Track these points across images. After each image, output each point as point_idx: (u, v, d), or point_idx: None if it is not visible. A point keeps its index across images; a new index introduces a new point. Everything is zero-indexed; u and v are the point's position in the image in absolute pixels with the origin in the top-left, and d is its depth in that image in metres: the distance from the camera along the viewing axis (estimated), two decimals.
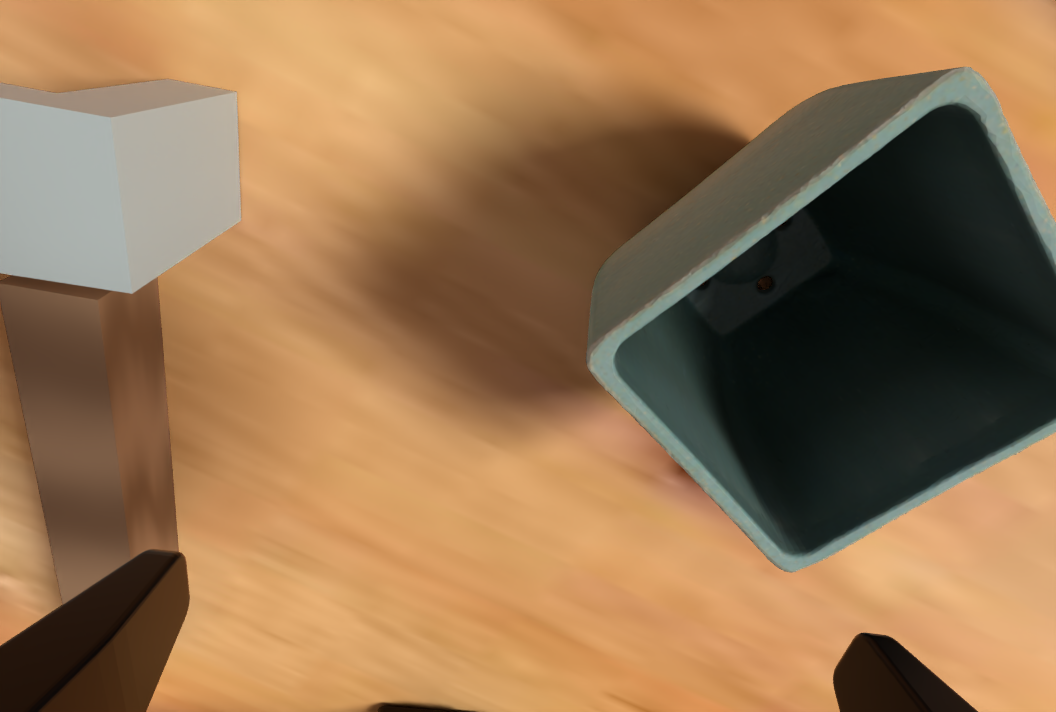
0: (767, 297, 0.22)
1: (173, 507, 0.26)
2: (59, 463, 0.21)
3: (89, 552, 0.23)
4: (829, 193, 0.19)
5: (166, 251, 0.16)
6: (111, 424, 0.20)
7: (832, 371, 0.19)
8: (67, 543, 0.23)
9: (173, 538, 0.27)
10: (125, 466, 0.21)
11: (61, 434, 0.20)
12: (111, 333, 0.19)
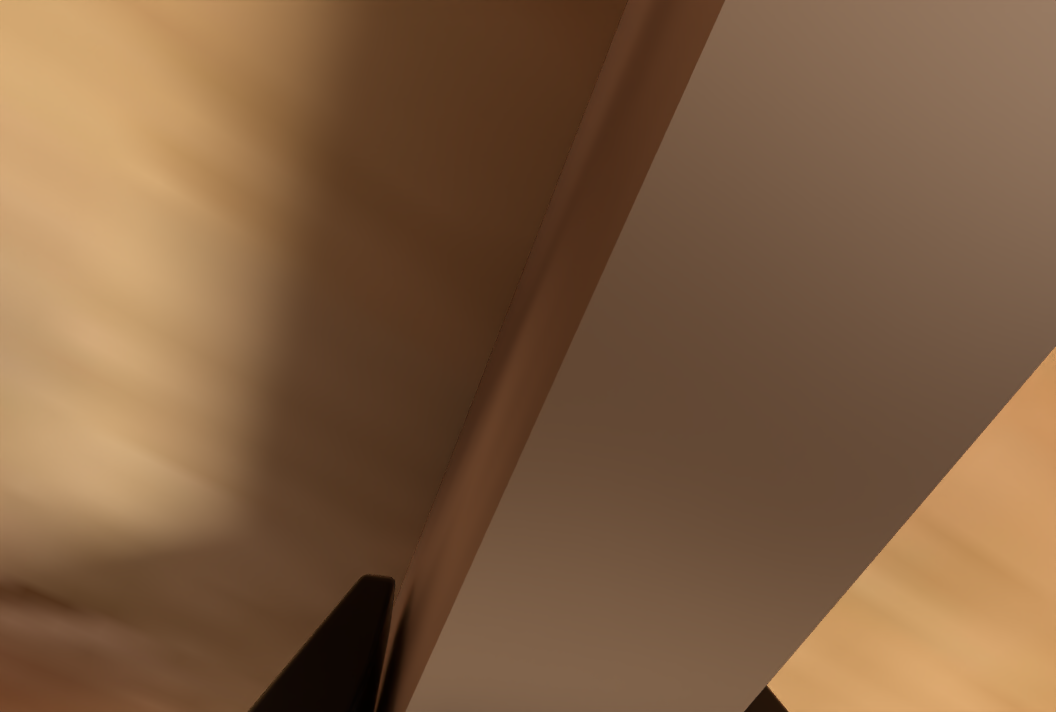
0: None
1: None
2: None
3: (661, 574, 0.05)
4: None
5: None
6: None
7: None
8: (582, 520, 0.04)
9: None
10: None
11: None
12: None
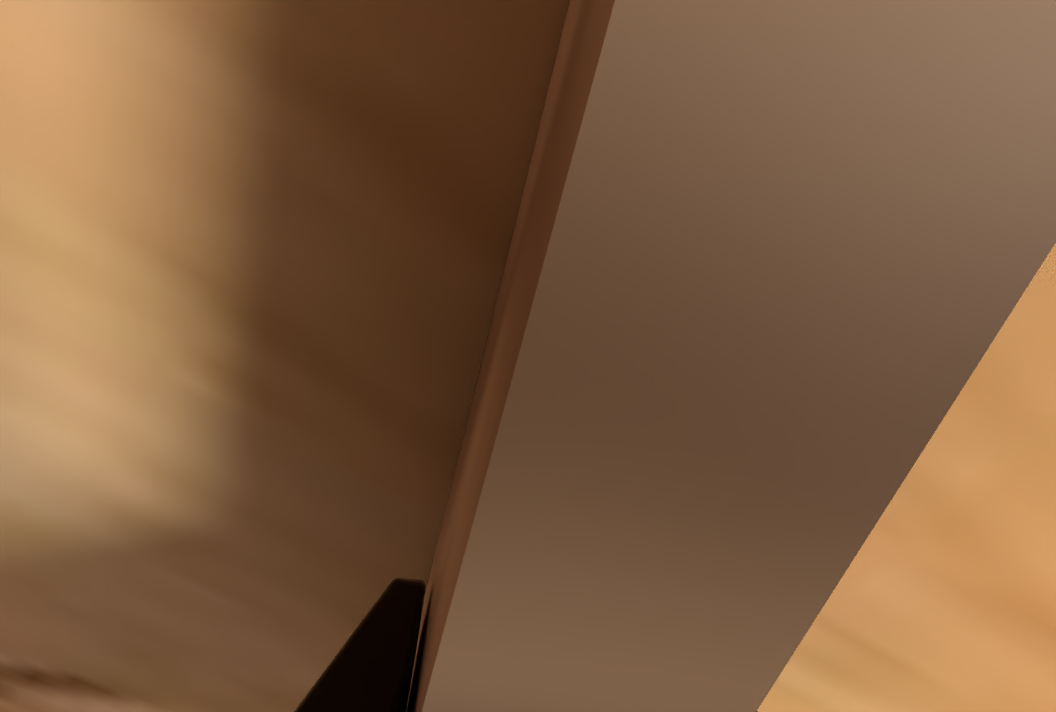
0: None
1: None
2: None
3: (648, 571, 0.05)
4: None
5: None
6: None
7: None
8: (561, 525, 0.04)
9: None
10: None
11: None
12: None
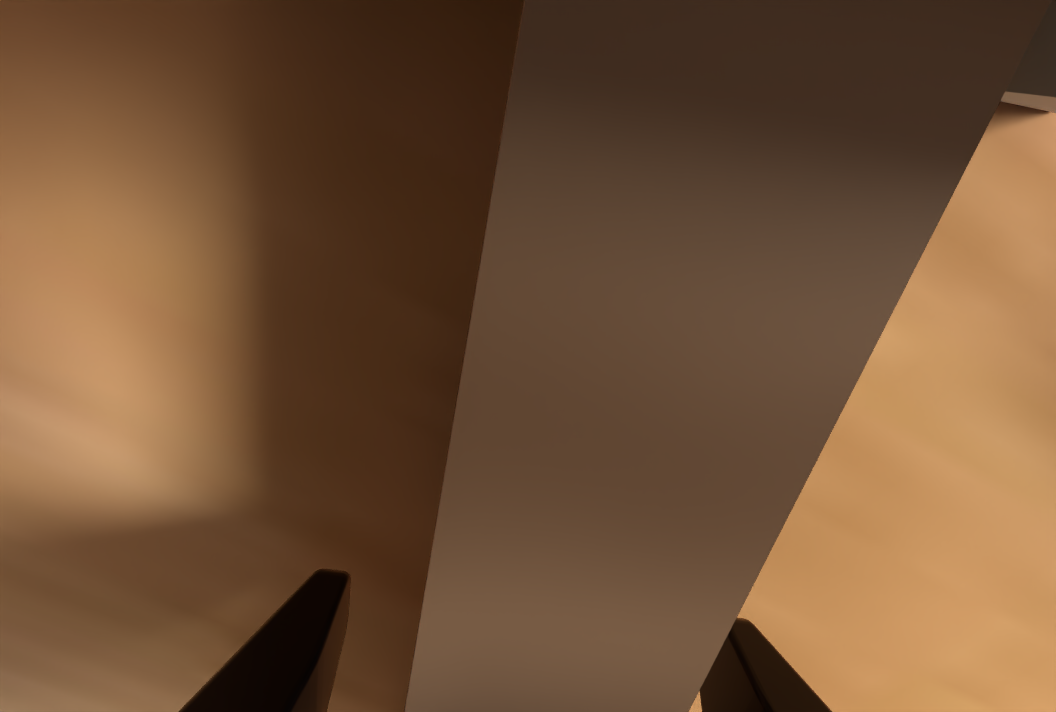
0: None
1: None
2: (664, 69, 0.03)
3: (585, 584, 0.05)
4: None
5: None
6: None
7: None
8: (507, 547, 0.05)
9: None
10: (945, 132, 0.04)
11: None
12: None
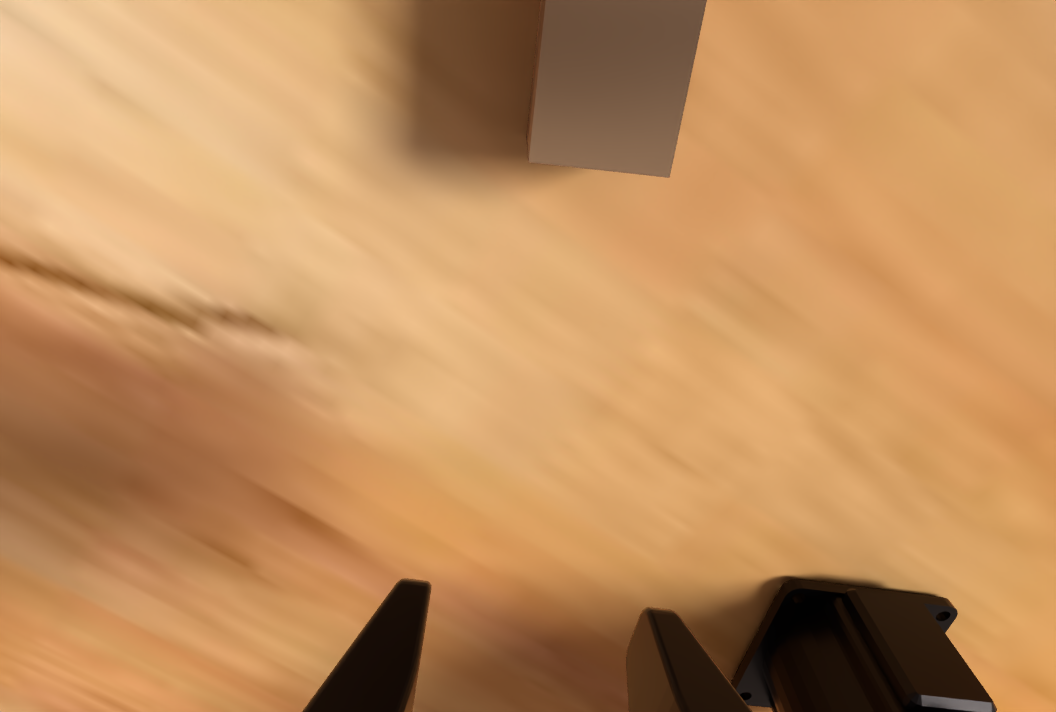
0: None
1: None
2: None
3: None
4: None
5: None
6: None
7: None
8: None
9: None
10: None
11: None
12: None
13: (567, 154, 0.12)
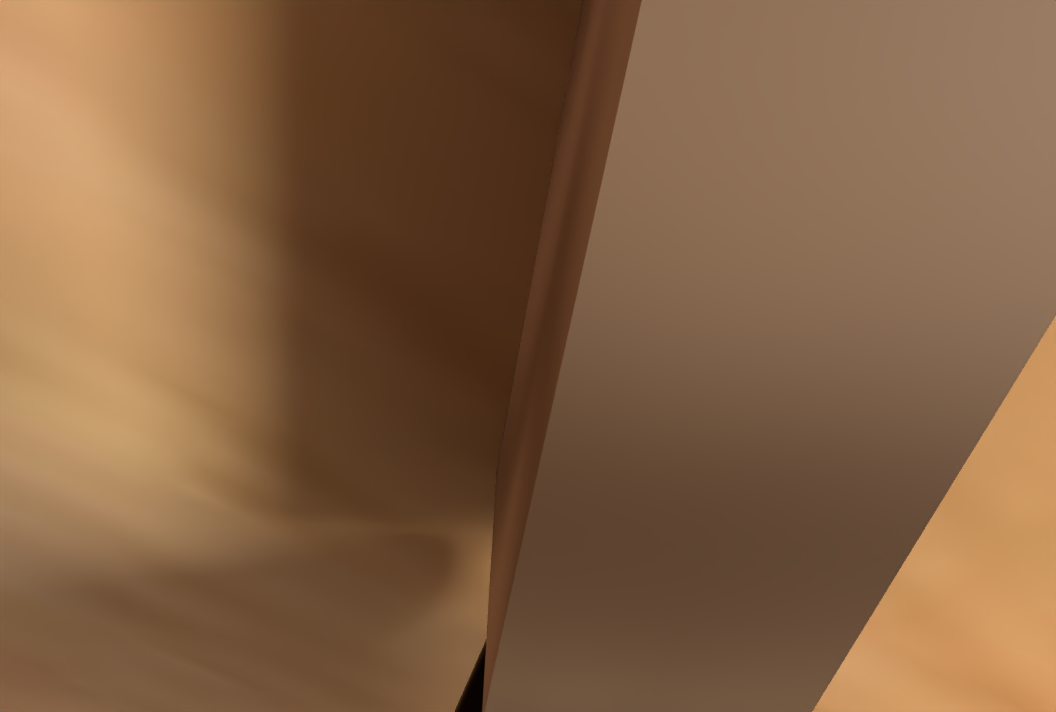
0: None
1: None
2: None
3: None
4: None
5: None
6: None
7: None
8: None
9: None
10: None
11: None
12: None
13: None
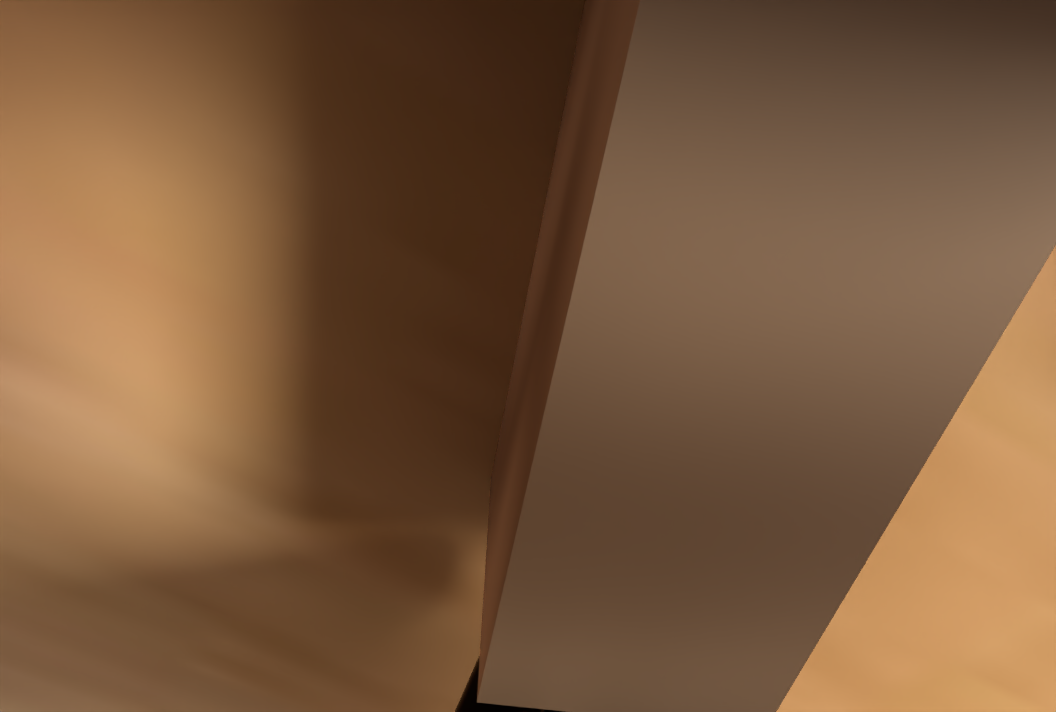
0: None
1: None
2: None
3: None
4: None
5: None
6: None
7: None
8: None
9: None
10: None
11: None
12: None
13: (559, 696, 0.06)
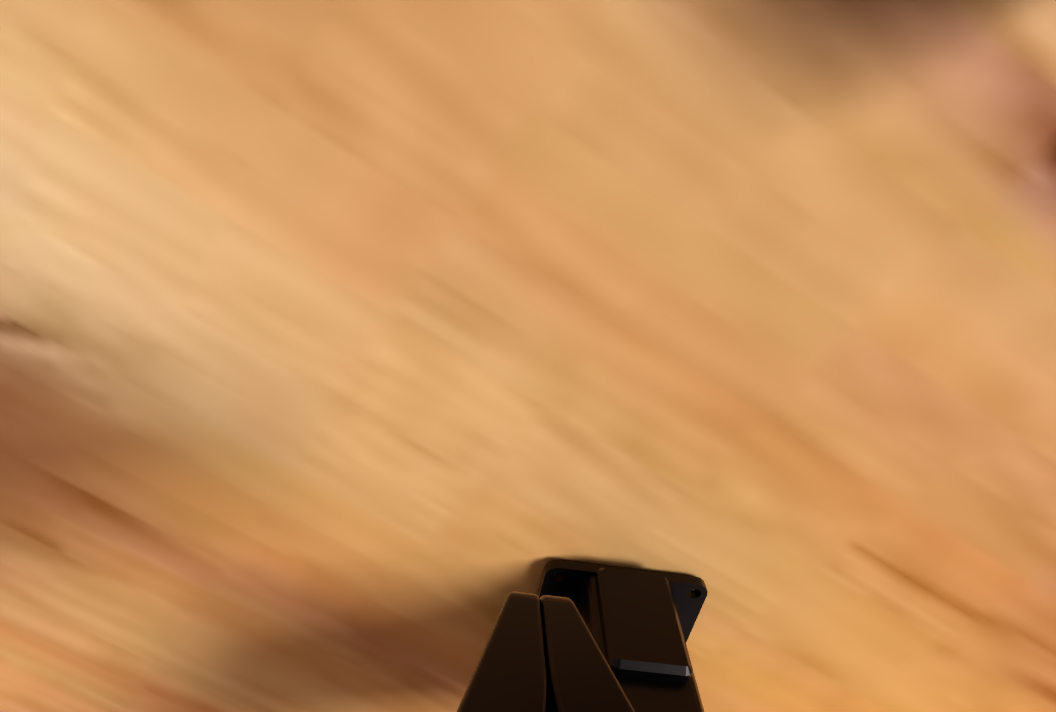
0: None
1: None
2: None
3: None
4: None
5: None
6: None
7: None
8: None
9: None
10: None
11: None
12: None
13: None
